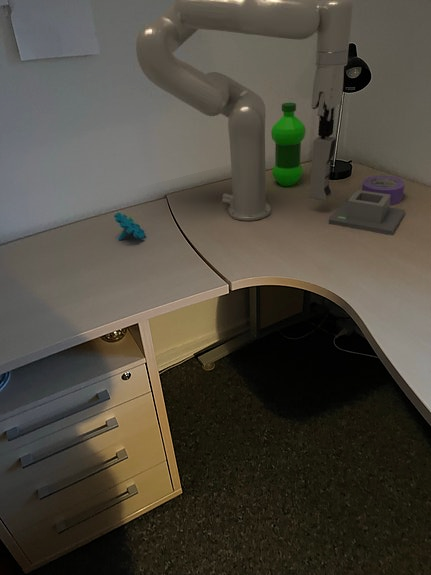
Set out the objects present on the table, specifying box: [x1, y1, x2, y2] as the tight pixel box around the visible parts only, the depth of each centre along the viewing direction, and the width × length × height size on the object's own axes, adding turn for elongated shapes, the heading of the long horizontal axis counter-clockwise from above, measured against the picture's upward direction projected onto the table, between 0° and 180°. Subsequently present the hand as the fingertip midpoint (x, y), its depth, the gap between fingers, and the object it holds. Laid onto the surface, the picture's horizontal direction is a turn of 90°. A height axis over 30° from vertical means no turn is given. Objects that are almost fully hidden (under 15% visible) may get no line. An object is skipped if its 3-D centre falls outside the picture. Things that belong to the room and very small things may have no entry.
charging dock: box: [328, 189, 406, 236], centre depth 127 cm, size 17×14×6 cm
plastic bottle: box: [271, 102, 306, 187], centre depth 148 cm, size 10×10×25 cm
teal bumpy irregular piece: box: [113, 212, 147, 241], centre depth 128 cm, size 11×6×10 cm
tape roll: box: [361, 174, 405, 206], centre depth 139 cm, size 12×12×5 cm
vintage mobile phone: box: [309, 107, 337, 202], centre depth 126 cm, size 4×5×25 cm
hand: (325, 134), depth 123 cm, fingers closed on vintage mobile phone, 1 cm apart
